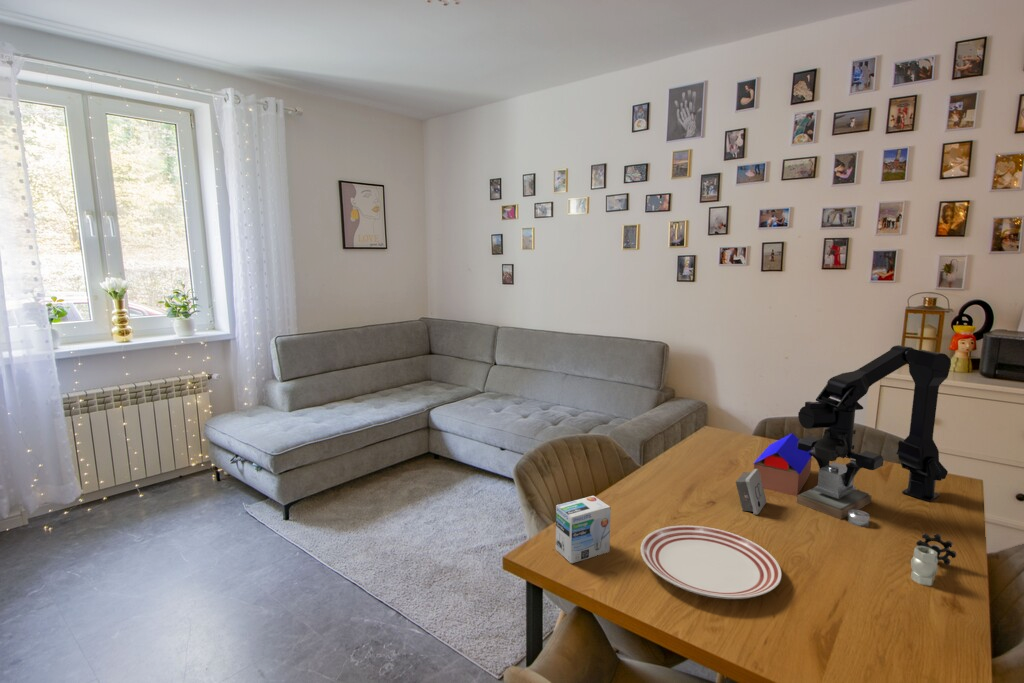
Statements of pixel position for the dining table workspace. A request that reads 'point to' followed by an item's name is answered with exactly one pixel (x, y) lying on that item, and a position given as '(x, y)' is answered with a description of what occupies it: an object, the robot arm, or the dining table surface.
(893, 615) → the dining table surface
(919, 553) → the valve
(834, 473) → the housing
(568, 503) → the white box
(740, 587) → the dinner plate
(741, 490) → the electrical switch
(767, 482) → the house
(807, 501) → the stand
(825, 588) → the dining table surface
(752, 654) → the dining table surface
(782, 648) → the dining table surface
